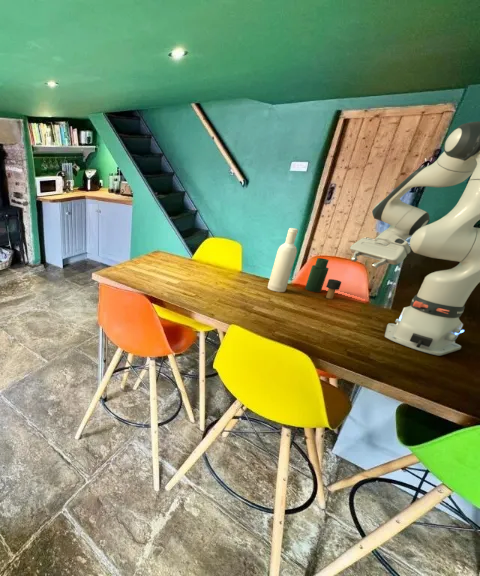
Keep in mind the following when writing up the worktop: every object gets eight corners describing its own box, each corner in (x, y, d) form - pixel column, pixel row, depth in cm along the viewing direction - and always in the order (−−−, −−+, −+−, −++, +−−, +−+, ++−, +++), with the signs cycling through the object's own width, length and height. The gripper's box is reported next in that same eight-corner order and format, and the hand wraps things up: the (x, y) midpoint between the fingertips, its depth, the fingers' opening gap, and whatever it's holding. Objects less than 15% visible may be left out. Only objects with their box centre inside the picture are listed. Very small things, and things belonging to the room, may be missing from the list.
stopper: (332, 300, 138) (339, 283, 135) (321, 296, 142) (326, 279, 139) (337, 298, 141) (343, 281, 138) (325, 295, 144) (331, 278, 141)
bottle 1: (286, 293, 143) (305, 230, 133) (267, 290, 146) (284, 228, 136) (284, 288, 150) (302, 228, 140) (266, 285, 153) (282, 226, 143)
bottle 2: (317, 293, 147) (327, 261, 141) (302, 288, 152) (312, 258, 146) (323, 291, 150) (333, 260, 145) (308, 287, 155) (318, 257, 150)
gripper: (361, 232, 144) (339, 252, 146) (411, 243, 126) (385, 266, 128) (365, 241, 147) (343, 261, 149) (415, 252, 129) (388, 275, 130)
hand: (362, 263), depth 138 cm, fingers open, 8 cm apart
